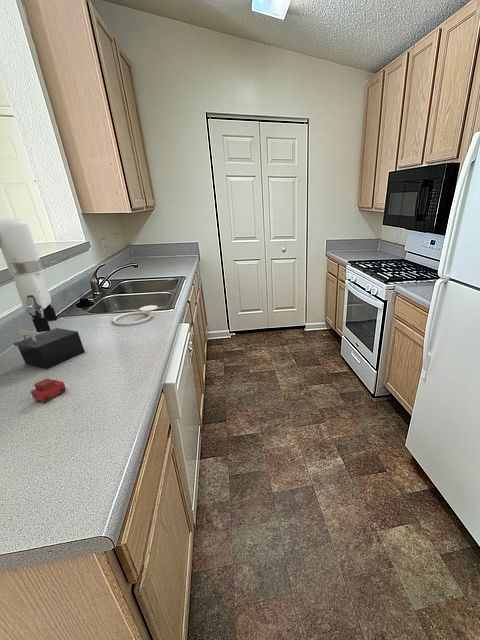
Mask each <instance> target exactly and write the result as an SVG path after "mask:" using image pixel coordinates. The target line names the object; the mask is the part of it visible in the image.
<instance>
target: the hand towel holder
mask: <svg viewBox="0 0 480 640" xmlns="http://www.w3.org/2000/svg"><path fill="white" fill-rule="evenodd" d="M157 308H158V305H152V304H150V305H145V306H142V307H139V311H137V310H136V311H130V312H125V313H123V314H122V313H121V314H119V315H116V316H114V317H113V319H112V323H113V324H115V325H118V326H130V325H137V324H141V323H144V322H146V321H148V320H150V319H151V318H152V317H154V315H153V313H152V311H155V310H157ZM141 314H142V315H147V317H145V318H142V319H139V320H135V321H129V322H125V321H124V322H121V321H117V320H118V319H120V318H122V317H123V318H124V317H126V316H131V315H141Z"/></svg>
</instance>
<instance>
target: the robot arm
mask: <svg viewBox="0 0 480 640" xmlns="http://www.w3.org/2000/svg"><path fill="white" fill-rule="evenodd" d="M0 252H1V253H2V256H3V259H4V261H5V265H6V267H7V269H8V271H9V274H10V275H11V276H13V280H14V283H15V287H16V291H17V294H18V297H19V299H20V302H21V306H22V308H23V310H24V311H25V312H29V313H28V314H29V315H30V319H31V321H32V323H33V325H34V329H35V331H36V333H44V332H47V331H50V330H51V326H50V324H49V322H55V321H57V320H58V317H57V314H56V311H55V308H54V307H53V303H52V299H51V298H52V297H51V293H50V290H49V289H48V288H49V287H48V285H47V283H46V281H45V279H44V276H43V273H44V272H45V269H44V266H43V264H42V261H41V258H40V255H39V252H38V250H37V246H36V243H35V241H34V238H33V236H32V232H31V229H30V227H29V224H28V223H27V221H26V220H24V219H21V218H1V219H0Z"/></svg>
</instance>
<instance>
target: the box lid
mask: <svg viewBox="0 0 480 640" xmlns="http://www.w3.org/2000/svg"><path fill="white" fill-rule="evenodd" d="M18 334H19V335H20V336H21V337H22V339H21V340H19V341H15V342H13V346H15V347H18V346H21V347H26V348H30V349H35V350H37V349H39V348H42V347H45V346H47V345H50V344H52V343H55V342H57V341H60V340H62V339H65V338H68V337H70V336H73V335H75V334H79V331H78V330H77V331H76V330H71V329H66V328H59V327H56V328H52V329H50V331H45V332H40V333H38V334H37V332H35V331H31V330H26V329H20V330H18ZM27 337H28V338H27Z"/></svg>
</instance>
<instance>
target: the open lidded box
mask: <svg viewBox="0 0 480 640" xmlns="http://www.w3.org/2000/svg"><path fill="white" fill-rule="evenodd" d="M17 348H18V351H19V353H20V355H21V357H22V359H23V362H24V364H25V365H26V366H31V367H35V368H39V369H45V370H49V369H51V368H54V367H55V366H57V365H60V364H62V363H65V362H67V361H69V360H71V359H74V358H76V357H78V356H80V355H82V354H85V353H86V351H85V348H84V345H83V342H82V339H81V336H80V334H79V333H78V334H75V335H73V336H70V337H68V338H65V339H62V340H60V341H57V342H55V343H52V344H50V345H47V346H45V347H42V348H39V349H37V350H35V349H30V348H26V347H21V346H17Z"/></svg>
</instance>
